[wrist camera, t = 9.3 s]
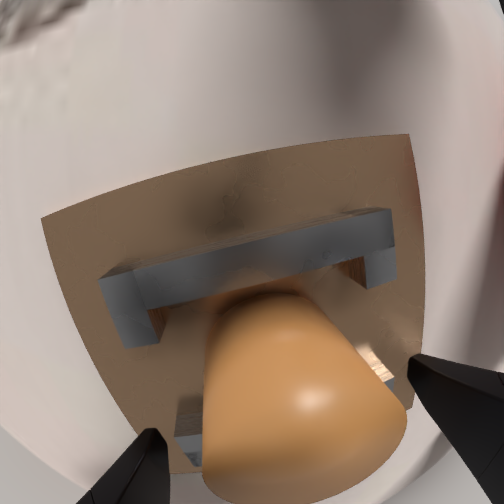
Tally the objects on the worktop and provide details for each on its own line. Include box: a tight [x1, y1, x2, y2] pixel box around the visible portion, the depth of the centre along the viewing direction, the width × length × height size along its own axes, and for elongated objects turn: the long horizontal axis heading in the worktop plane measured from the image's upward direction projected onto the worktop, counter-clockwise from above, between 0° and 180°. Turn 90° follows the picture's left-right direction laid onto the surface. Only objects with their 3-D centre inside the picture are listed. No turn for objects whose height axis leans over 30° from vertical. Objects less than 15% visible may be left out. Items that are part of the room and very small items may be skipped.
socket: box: [41, 134, 425, 474], centre depth 11 cm, size 16×16×2 cm
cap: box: [202, 293, 407, 504], centre depth 8 cm, size 6×6×6 cm
